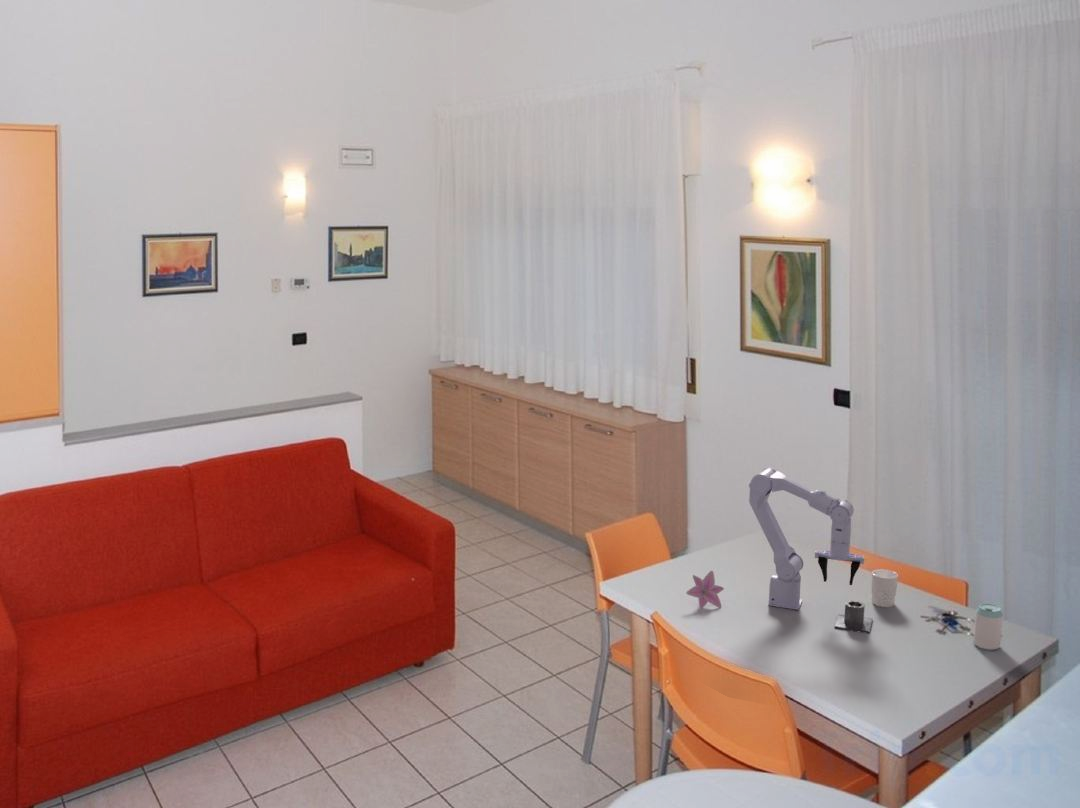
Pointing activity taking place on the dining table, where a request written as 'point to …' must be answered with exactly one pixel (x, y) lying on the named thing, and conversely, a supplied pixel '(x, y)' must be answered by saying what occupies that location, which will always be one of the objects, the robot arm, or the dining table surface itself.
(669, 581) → the dining table surface
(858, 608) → the tube
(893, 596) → the white cup
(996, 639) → the can
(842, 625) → the post
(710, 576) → the lily
